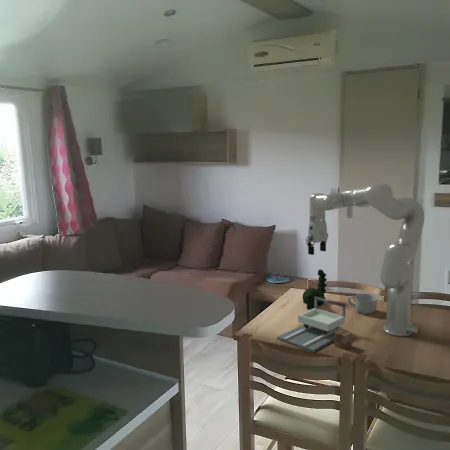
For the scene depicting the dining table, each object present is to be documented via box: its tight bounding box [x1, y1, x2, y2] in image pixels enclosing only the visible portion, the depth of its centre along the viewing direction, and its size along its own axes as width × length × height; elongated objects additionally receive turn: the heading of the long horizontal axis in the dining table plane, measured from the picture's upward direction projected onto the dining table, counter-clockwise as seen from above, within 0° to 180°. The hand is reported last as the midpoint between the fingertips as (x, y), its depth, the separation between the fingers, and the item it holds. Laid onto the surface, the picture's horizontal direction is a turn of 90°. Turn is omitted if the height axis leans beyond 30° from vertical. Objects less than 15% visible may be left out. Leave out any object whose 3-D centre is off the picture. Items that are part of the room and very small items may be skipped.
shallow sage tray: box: [297, 296, 347, 334], centre depth 212 cm, size 16×13×11 cm
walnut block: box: [334, 328, 353, 351], centre depth 199 cm, size 5×5×6 cm
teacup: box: [347, 293, 378, 315], centre depth 237 cm, size 14×11×8 cm
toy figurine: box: [302, 269, 328, 311], centre depth 245 cm, size 9×19×25 cm
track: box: [276, 324, 349, 353], centre depth 210 cm, size 19×27×2 cm
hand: (317, 252), depth 236 cm, fingers open, 9 cm apart
